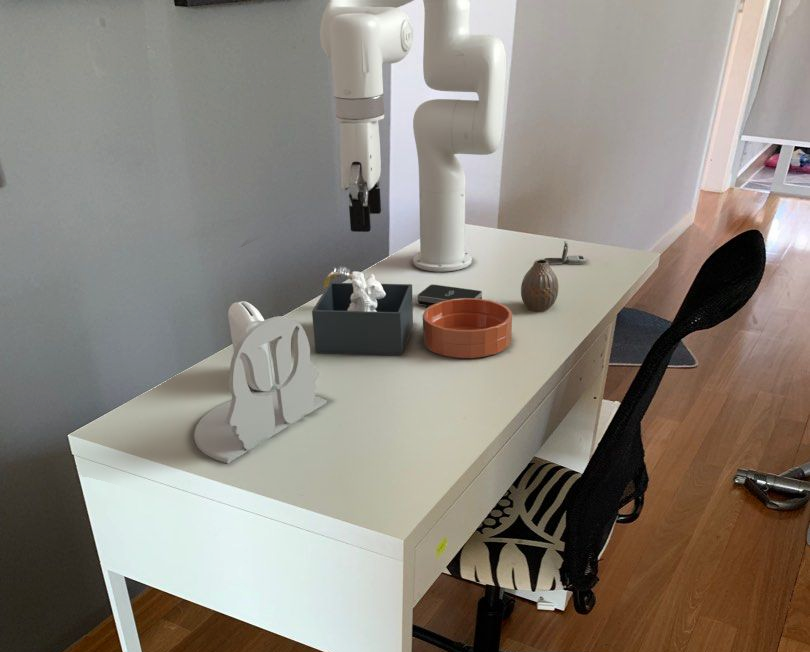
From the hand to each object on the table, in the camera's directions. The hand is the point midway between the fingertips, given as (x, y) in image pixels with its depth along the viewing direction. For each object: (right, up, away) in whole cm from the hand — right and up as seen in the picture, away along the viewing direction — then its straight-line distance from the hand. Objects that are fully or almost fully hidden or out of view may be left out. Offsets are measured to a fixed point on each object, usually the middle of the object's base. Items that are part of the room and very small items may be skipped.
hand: (366, 221), depth 141 cm
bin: (-1, -17, +10) cm, 20 cm away
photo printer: (-18, -27, -2) cm, 32 cm away
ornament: (-17, -35, -14) cm, 41 cm away
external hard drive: (+15, -7, +23) cm, 28 cm away
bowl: (+17, -18, +8) cm, 26 cm away
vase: (+32, -9, +20) cm, 38 cm away
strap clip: (+40, +6, +41) cm, 58 cm away
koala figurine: (-1, -17, +10) cm, 19 cm away
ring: (-5, -8, +22) cm, 25 cm away
